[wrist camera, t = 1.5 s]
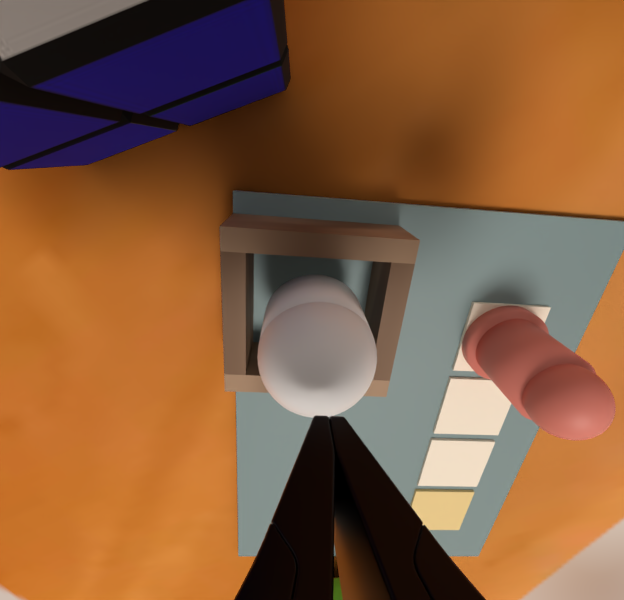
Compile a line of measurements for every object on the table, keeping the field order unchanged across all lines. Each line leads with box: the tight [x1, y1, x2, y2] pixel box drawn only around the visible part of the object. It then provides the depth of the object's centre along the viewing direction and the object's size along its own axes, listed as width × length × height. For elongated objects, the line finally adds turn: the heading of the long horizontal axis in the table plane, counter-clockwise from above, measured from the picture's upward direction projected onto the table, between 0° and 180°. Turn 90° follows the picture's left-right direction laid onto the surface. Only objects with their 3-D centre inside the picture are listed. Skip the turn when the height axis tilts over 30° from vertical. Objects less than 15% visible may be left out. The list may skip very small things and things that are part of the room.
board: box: [233, 190, 624, 556], centre depth 22 cm, size 20×28×1 cm
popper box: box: [220, 213, 420, 397], centre depth 16 cm, size 8×8×3 cm
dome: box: [257, 275, 377, 418], centre depth 13 cm, size 4×4×5 cm
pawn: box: [462, 305, 615, 440], centre depth 16 cm, size 4×4×7 cm
